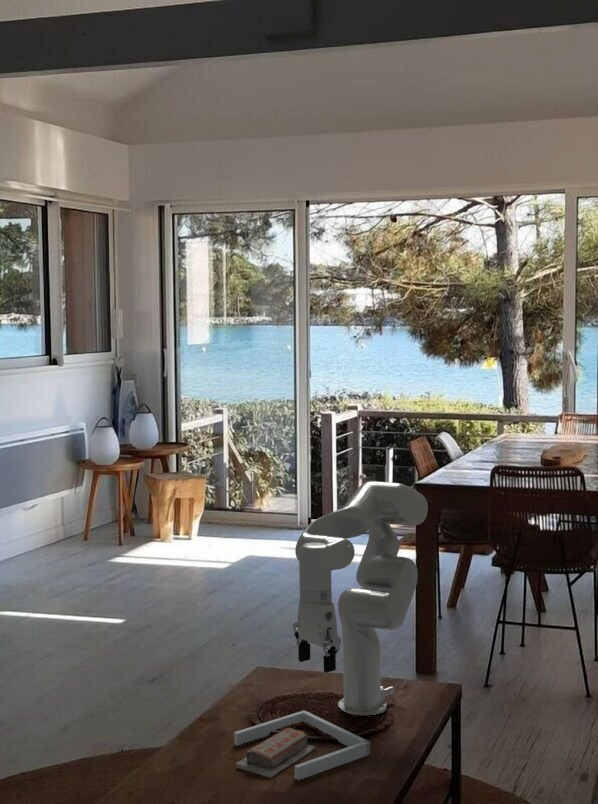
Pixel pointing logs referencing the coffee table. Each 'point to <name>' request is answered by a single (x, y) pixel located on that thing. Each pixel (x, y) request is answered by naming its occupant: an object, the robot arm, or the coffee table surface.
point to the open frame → (355, 743)
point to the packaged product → (276, 753)
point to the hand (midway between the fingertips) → (317, 665)
